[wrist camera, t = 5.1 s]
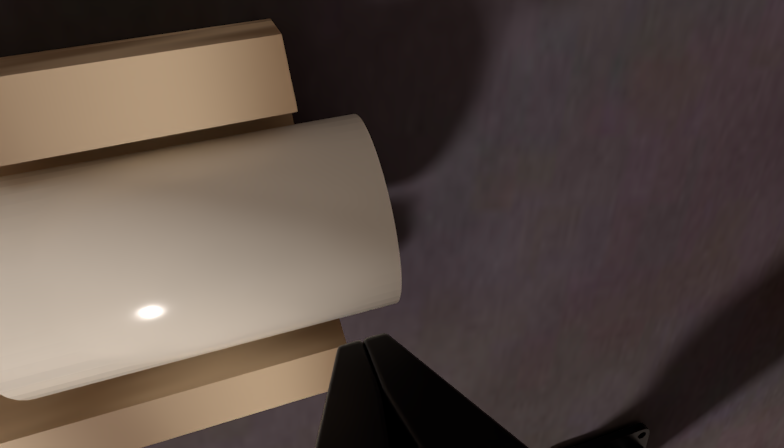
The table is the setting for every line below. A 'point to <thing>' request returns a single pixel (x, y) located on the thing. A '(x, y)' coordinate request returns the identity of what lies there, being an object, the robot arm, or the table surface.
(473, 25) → the table surface
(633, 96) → the table surface
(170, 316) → the bottle
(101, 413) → the cradle
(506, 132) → the table surface
